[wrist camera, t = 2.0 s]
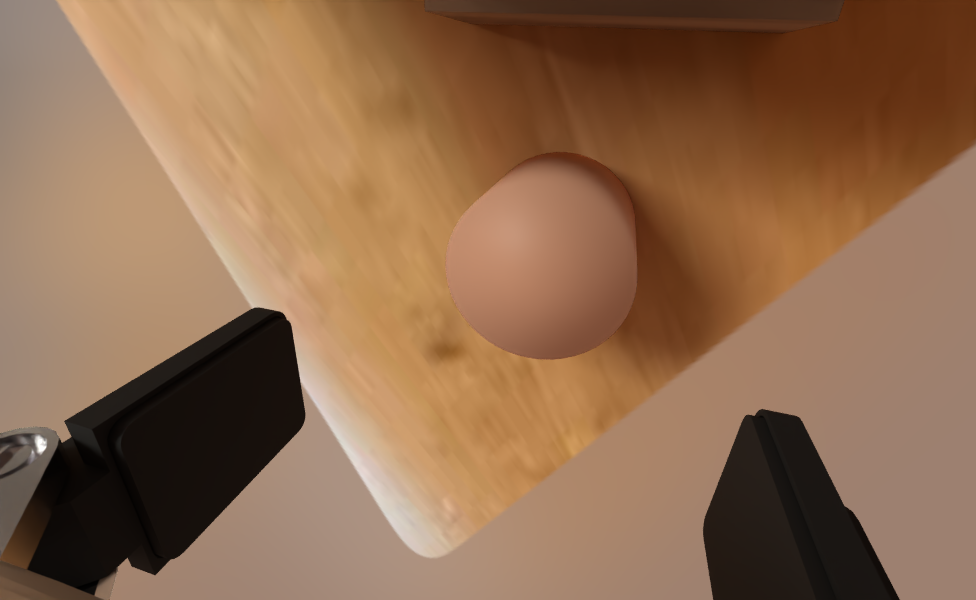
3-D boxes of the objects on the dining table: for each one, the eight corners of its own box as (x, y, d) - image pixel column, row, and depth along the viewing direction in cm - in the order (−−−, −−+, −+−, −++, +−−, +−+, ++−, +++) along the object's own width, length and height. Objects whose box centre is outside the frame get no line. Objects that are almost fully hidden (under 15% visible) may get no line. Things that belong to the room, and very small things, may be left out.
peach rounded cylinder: (489, 145, 18) (445, 171, 13) (650, 159, 16) (657, 193, 12) (484, 284, 21) (445, 341, 16) (620, 305, 19) (617, 374, 15)
